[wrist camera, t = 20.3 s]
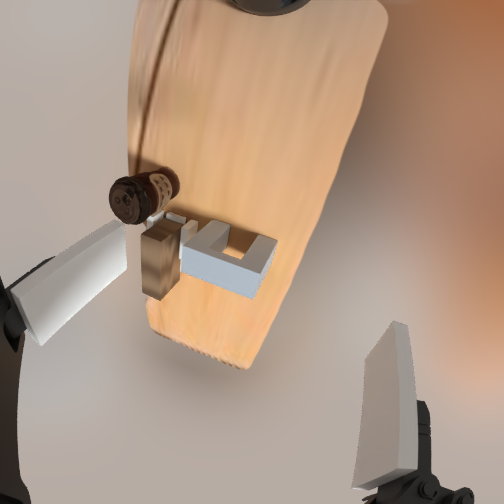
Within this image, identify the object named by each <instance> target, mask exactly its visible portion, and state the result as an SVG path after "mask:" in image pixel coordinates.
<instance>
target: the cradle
mask: <svg viewBox="0 0 504 504" xmlns="http://www.w3.org/2000/svg"><path fill="white" fill-rule="evenodd" d="M166 218H167V219H170V220H173V221H176V222H179V223H182V224H184V226H182V227H181V238H180V251H179V259H181V261H182V247H183V245H184V244H185V243H186V242H187V241H188V240H190V239H191V238H192V237H193V236H194V235H195V234H196V233H197V230H198V221H195V220H190V221H189V222H188V223H186V217H183V216H180V215H177V214H174V213H171V212H168V213H167V216H166ZM162 219H164V210H162V209H159V210H158V211H157V212H155V213H153V214H152V215H151V216H150V217H148V219H147V229H149V228H150V227H152V226H153V225H155V224H156V223H158V222H159V221H161V220H162ZM180 272H181V264H180Z"/></svg>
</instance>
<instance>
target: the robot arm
mask: <svg viewBox="0 0 504 504" xmlns="http://www.w3.org/2000/svg"><path fill="white" fill-rule="evenodd" d="M230 1H231V2H233V3H234V4H235V5H236V6H237V7H239V8H240V9H242V10H243V11H246V12H248V13H251V14H254V15H260V16H277V15H283V14H287V13H290V12H293V11H295V10H297V9H299V8H301V7H303V6H304V5H305V4H307V3H308V2H309V1H310V0H230ZM126 269H127V262H126V243H125V224H124V223H121V222H119V221H116V220H113V221H111V222H109V223H107V224H106V225H104V226H102V227H101V228H99V229H97V230H96V231H94V232H93V233H91V234H89V235H88V236H86V237H85V238H83V239H81V240H80V241H78V242H77V243H75V244H74V245H72V246H71V247H69V248H68V249H66V250H65V251H63V252H62V253H60V254H59V255H57V256H56V257H55V256H54V257H51V258H49V259H46V260H44V261H43V262H41V263H40V264H39V265H37V267H34V268H33V269H31V270H30V272H27V273H26V274H24V275H23V276H22V277H21V278H19V279H18V280H16V281H15V282H14V283H13V284H11V285H10V286H9V287H7V288H6V289H5V288H4V285H3V283H2V280H1V277H0V504H31V500H30V495H29V492H28V489H27V487H26V486H25V484H24V483H23V481H22V479H21V476H20V469H19V458H18V442H17V406H18V389H19V378H20V368H21V361H22V354H23V347H24V341H25V333H24V331H25V330H26V329H28V332H29V334H30V336H31V337H32V338H33V339H34V340H35V341H36V342H37V343H38V344H39V345H40V346H42V345H43V344H44V343H45V342H46V341H47V340H48V339H49V338H50V337H51V336H52V335H53V334H54V333H55V332H56V331H57V330H58V329H60V328H61V327H62V326H63V325H64V324H65V323H66V322H67V321H68V320H69V319H70V318H71V317H72V316H73V315H75V314H76V313H77V312H78V311H79V310H80V309H81V308H82V307H83V306H84V305H85V304H87V303H88V302H89V301H90V300H91V299H92V298H93V297H94V296H96V294H98V293H99V292H100V291H101V290H102V289H104V288H105V287H106V286H107V285H108V284H109V283H111V282H112V281H113V280H114V279H115V278H117V277H118V276H119V275H120V274H121V273H122V272H124V271H125V270H126ZM430 429H431V428H430V413H429V410H428V408H427V405H426V403H425V402H424V401H419V400H416V387H415V377H414V368H413V359H412V352H411V345H410V338H409V332H408V326H407V325H405V324H402V323H399V322H396V321H393V322H392V323H391V324H390V326H389V328H388V329H387V330H386V332H385V333H384V335H383V336H382V337H381V339H380V340H379V341H378V343H377V344H376V346H375V347H374V348H373V350H372V351H371V352H370V354H369V355H368V356H367V357H366V359H365V371H364V391H363V405H362V416H361V426H360V436H359V443H358V451H357V458H356V465H355V470H354V476H353V482H352V487H351V488H352V489H361V490H371V489H373V488H376V487H378V492H377V493H376V494H373V495H370V496H367V497H365V498H363V499H362V501H366V500H368V501H367V502H366V503H365V504H474V494H473V492H472V490H470V489H469V488H466V487H464V488H461V489H459V490H456V491H452V490H449V489H447V488H444V487H441V486H440V483H439V480H438V479H437V477H436V476H434V475H433V474H432V473H431V437H430V435H431V430H430Z"/></svg>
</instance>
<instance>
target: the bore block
mask: <svg viewBox="0 0 504 504" xmlns="http://www.w3.org/2000/svg"><path fill="white" fill-rule="evenodd" d="M230 226H231V225H230V224H227V223H224V222H221V221H218V220H214V219H213V220H211V221H210V222H209V223H208V224H207V225H206V226H204V227H203V228H202V229H201V230H200V231H199V232H198V233H196V234H195V235H194V236H193V237H192V238H191V239H190V240H188V241H187V242H186V243H185V244H184V245H183V247H182V261H181V272H184V273H186V274H189V275H191V276H194V277H196V278H199V279H201V280H204V281H206V282H209V283H211V284H214V285H216V286H219V287H221V288H224V289H227V290H229V291H232V292H235V293H237V294H240V295H242V296H245V297H248V298H251V299H254V297H255V295H256V293H257V291H258V289H259V287H260V285H261V283H262V281H263V279H264V277H265V275H266V273H267V271H268V269H269V267H270V265H271V263H272V260H273V256H274V253H275V249H276V246H277V242H278V241H277V240H274V239H271V238H268V237H265V236H262V235H258V236H257V238H256V239H255V241H254V242H253V244H252V245H251V246H250V248H249V249H248V251H247V252H246V254H245V255H244V256H243V258H242V259H241V260H240V259H238V258H235V257H232V256H229V255H227V254H224V253H222V252H223V251H224V250H225V249H226V248H227V242H228V237H229V232H230Z"/></svg>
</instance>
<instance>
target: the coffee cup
mask: <svg viewBox="0 0 504 504" xmlns="http://www.w3.org/2000/svg"><path fill="white" fill-rule="evenodd" d="M179 188H180V182H179V179H178V177H177V175H176V174H175V173H174V171H173V170H171V169H170V168H168V167H165V168H160V169H158V170H157V171H152V172H144V173H140V174H138V175H135V176H131V177H128V176H127V177H122V178H120V179H118V180H116V181H115V183H114V184H113V185H112V187H111V189H110V193H109V203H110V207H111V209H112V211H113V212H114V214H115V215H116V216H117V217H118V218H119V219H120V220H121V221H122V222H123V223H125V224H134V225H137V224H140V223H142V222H144V221H145V220H147V219H148V217H150V216H151V215H152V214H153V213H155V212H157V211H158V210H159V209H160V208H162V207H164V206H165V205H166V204H167V203H168V202H169V200H171V199H173V198H174V197H175V196H176V195H177V194H178V192H179Z"/></svg>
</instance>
